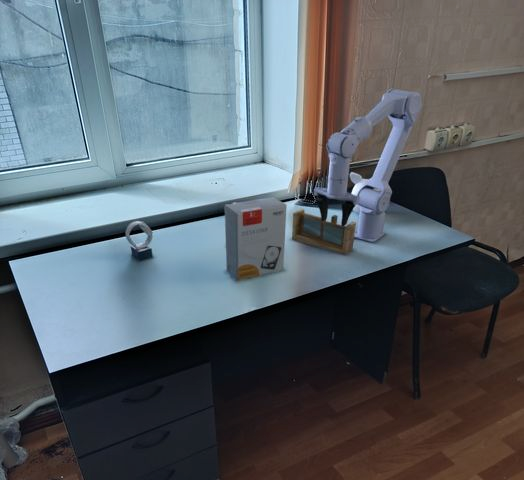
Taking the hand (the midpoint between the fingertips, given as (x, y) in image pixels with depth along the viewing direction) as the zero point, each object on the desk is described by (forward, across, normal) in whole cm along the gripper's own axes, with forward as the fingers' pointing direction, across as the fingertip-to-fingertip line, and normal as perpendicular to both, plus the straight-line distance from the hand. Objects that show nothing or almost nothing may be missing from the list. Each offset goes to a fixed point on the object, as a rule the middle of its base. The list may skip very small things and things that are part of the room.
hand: (333, 222), depth 149 cm
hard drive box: (+9, -10, -27) cm, 30 cm away
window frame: (+9, -4, +1) cm, 10 cm away
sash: (+7, 0, 0) cm, 7 cm away
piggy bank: (+9, -6, +34) cm, 36 cm away
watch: (+9, -44, -40) cm, 60 cm away
